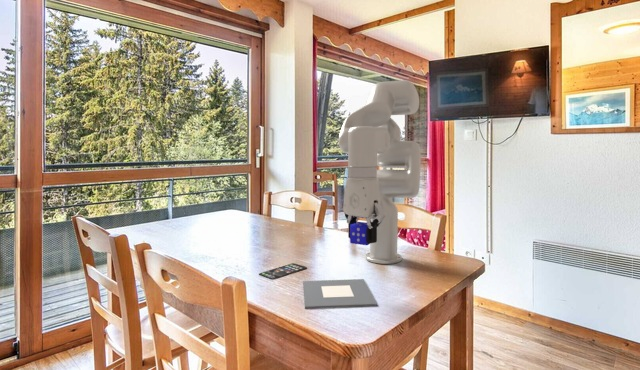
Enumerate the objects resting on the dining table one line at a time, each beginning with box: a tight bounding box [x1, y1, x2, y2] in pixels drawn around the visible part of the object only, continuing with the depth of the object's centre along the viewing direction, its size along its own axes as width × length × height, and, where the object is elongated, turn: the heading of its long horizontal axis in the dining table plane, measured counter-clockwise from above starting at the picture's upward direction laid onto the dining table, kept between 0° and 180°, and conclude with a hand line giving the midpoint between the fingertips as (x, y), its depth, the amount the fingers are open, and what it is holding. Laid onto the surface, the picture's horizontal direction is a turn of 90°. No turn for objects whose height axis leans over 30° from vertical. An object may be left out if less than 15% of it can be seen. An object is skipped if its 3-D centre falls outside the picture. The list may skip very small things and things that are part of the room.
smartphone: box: [258, 262, 308, 281], centre depth 122 cm, size 7×1×15 cm
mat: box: [302, 278, 378, 309], centre depth 103 cm, size 18×18×1 cm
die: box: [349, 221, 370, 246], centre depth 102 cm, size 5×5×5 cm
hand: (362, 239), depth 102 cm, fingers closed on die, 6 cm apart
